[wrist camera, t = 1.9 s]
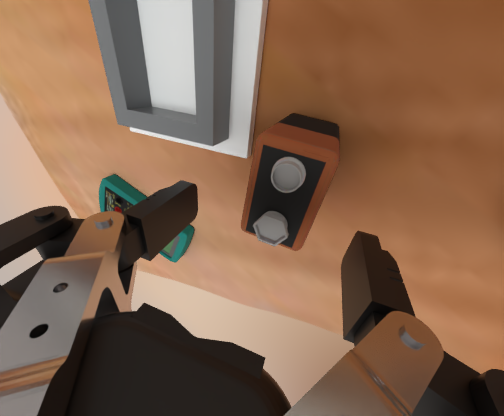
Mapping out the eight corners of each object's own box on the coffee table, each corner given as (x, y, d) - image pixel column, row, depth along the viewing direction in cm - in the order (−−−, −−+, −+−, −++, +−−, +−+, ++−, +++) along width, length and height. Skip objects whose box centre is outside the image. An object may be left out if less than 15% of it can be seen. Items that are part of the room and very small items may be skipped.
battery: (272, 181, 21) (232, 240, 13) (290, 111, 18) (249, 134, 9) (313, 194, 20) (297, 266, 12) (341, 123, 17) (344, 161, 9)
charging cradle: (96, -98, 15) (27, -151, 12) (281, -113, 12) (258, -192, 8) (138, 129, 24) (105, 136, 20) (251, 155, 21) (233, 169, 17)
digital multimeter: (113, 169, 30) (93, 176, 27) (198, 227, 29) (186, 239, 27) (111, 203, 34) (94, 213, 32) (185, 254, 34) (174, 267, 31)
